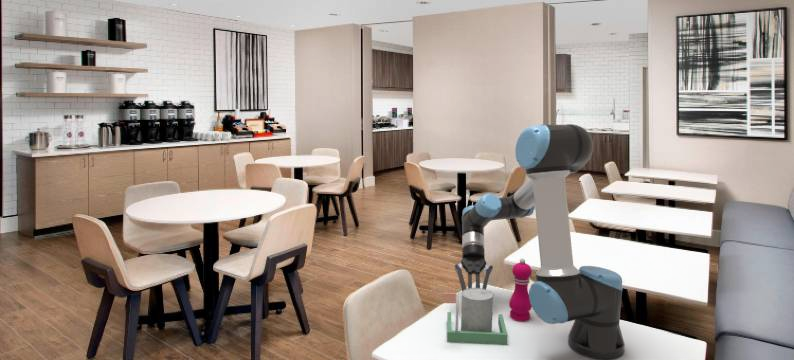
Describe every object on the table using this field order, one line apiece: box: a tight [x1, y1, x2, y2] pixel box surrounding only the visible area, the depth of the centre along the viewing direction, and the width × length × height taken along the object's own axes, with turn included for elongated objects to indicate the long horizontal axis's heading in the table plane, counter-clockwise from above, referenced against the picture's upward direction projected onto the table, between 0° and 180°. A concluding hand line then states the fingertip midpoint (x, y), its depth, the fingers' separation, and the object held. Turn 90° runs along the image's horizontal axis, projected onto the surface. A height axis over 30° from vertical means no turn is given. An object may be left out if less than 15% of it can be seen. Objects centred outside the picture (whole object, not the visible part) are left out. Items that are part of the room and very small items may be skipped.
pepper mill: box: [508, 258, 533, 322], centre depth 166 cm, size 7×7×20 cm
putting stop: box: [442, 292, 509, 345], centre depth 156 cm, size 19×14×15 cm
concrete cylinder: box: [460, 287, 494, 332], centre depth 156 cm, size 10×10×12 cm
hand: (474, 314), depth 163 cm, fingers closed
